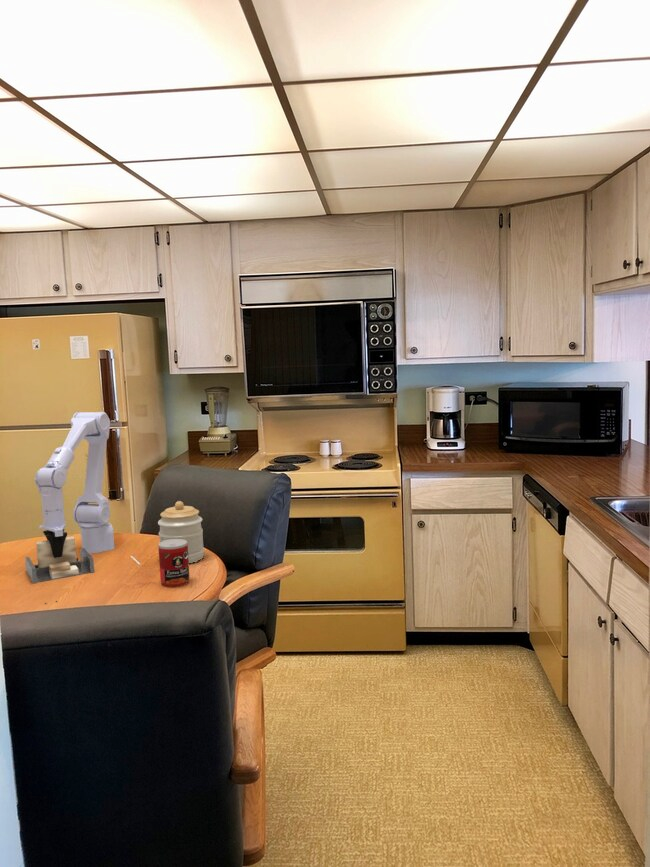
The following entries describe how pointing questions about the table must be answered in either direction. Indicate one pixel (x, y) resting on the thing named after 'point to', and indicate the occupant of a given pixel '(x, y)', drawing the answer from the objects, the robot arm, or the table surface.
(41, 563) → the wooden block
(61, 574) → the offcut lower
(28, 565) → the rack
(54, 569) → the offcut upper
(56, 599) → the table surface
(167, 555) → the canned food
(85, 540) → the robot arm
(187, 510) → the jar
